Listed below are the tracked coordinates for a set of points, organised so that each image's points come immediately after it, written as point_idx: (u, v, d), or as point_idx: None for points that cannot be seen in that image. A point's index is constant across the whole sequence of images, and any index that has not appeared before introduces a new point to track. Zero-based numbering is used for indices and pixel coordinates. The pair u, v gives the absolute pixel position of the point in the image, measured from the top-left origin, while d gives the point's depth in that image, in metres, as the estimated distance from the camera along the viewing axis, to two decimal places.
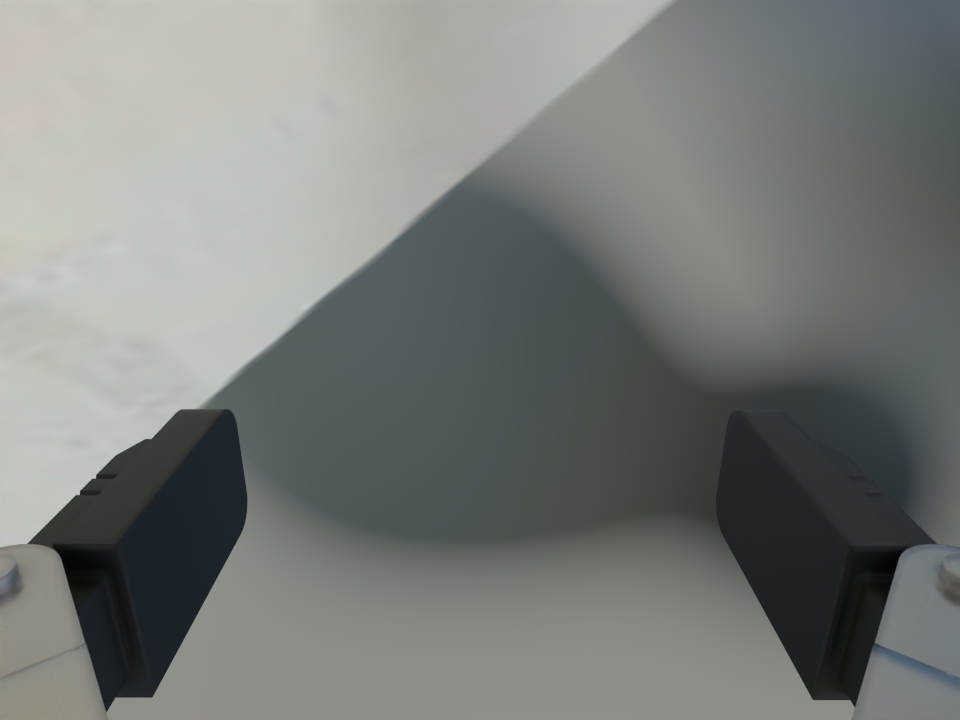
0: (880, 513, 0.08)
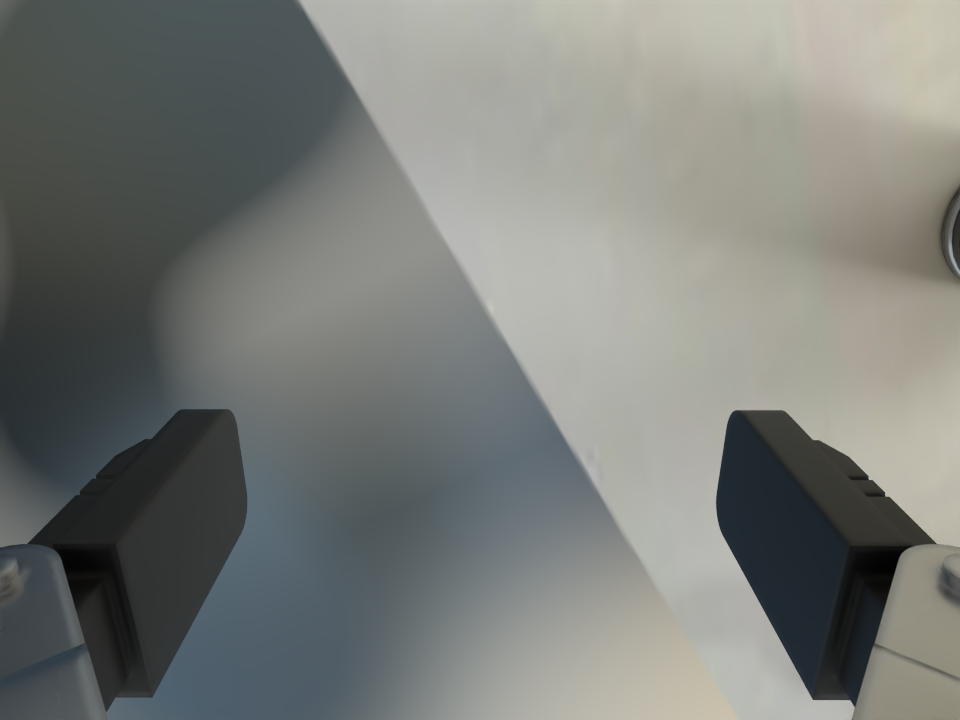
0: (880, 513, 0.08)
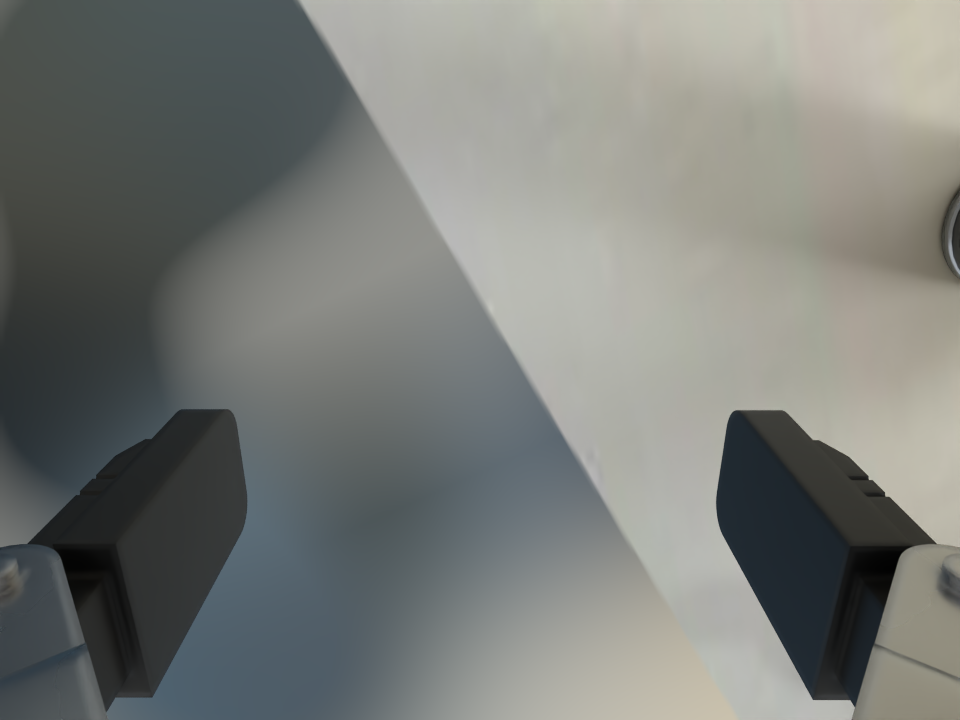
0: (880, 513, 0.08)
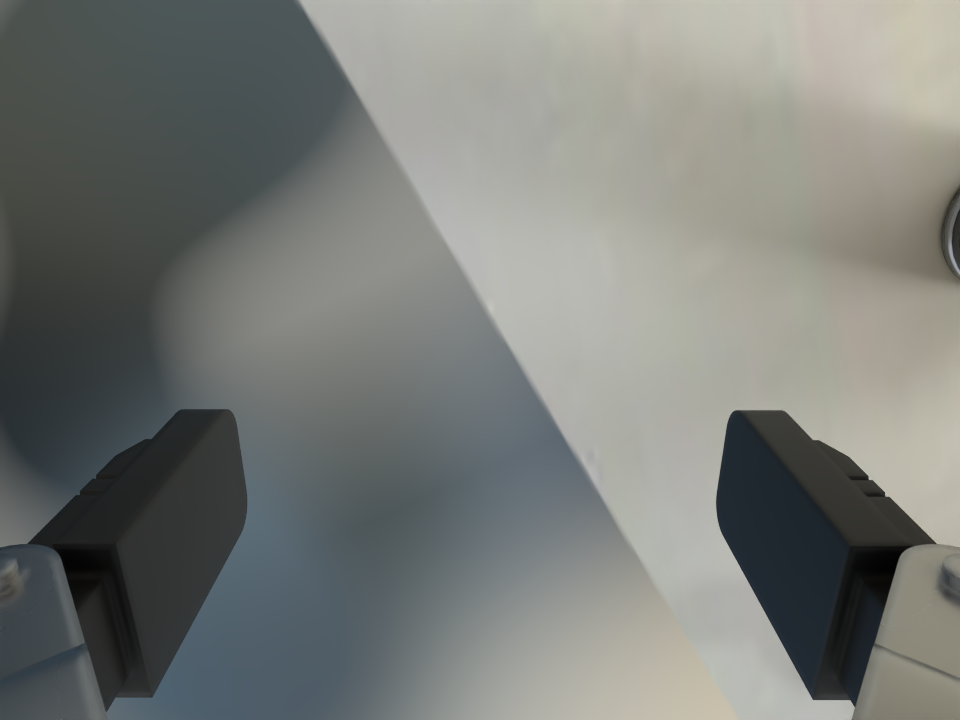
0: (880, 513, 0.08)
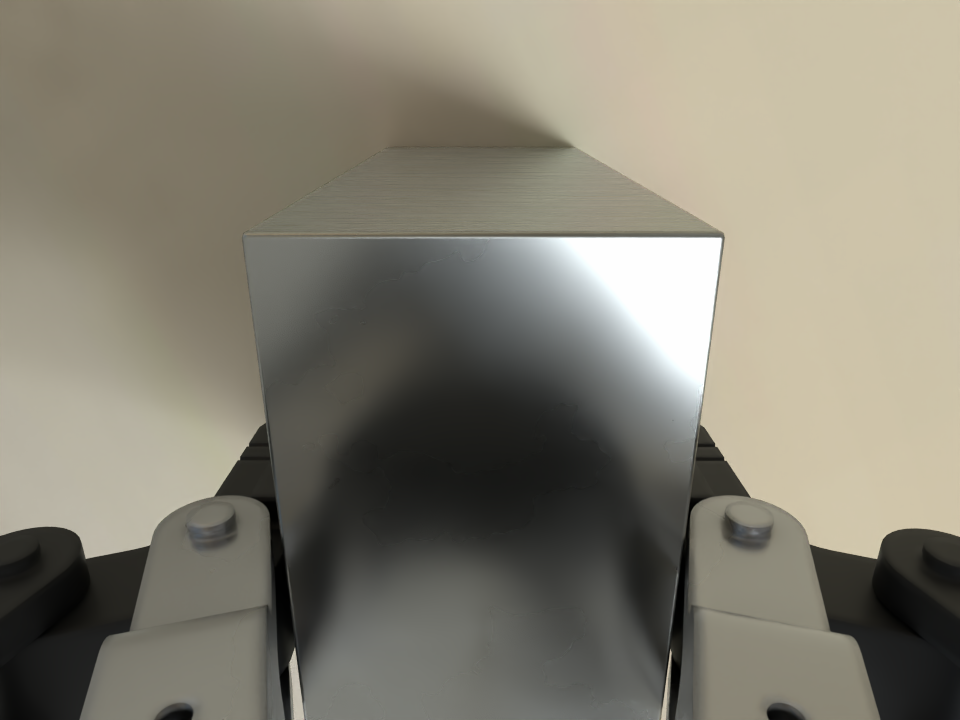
0: (699, 471, 0.09)
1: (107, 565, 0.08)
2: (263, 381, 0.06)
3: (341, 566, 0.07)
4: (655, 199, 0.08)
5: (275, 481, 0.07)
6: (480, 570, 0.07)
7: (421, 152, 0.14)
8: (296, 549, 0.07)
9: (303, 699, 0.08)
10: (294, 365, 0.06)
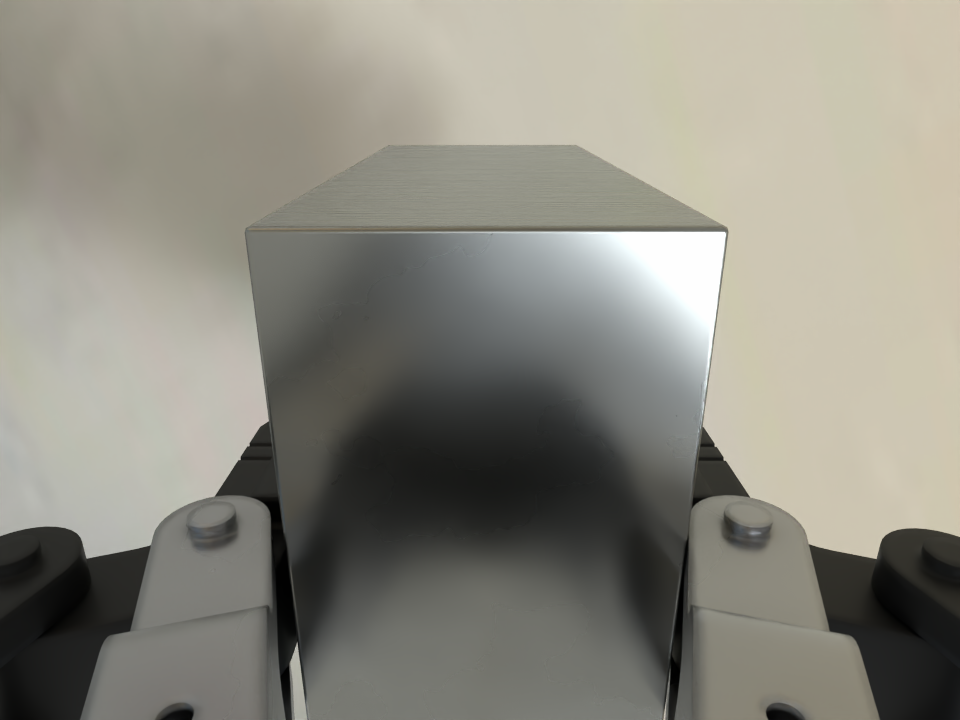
0: (698, 471, 0.09)
1: (108, 564, 0.08)
2: (266, 376, 0.06)
3: (345, 562, 0.07)
4: (658, 195, 0.08)
5: (278, 477, 0.07)
6: (481, 566, 0.07)
7: (422, 150, 0.14)
8: (299, 545, 0.07)
9: (305, 696, 0.08)
10: (297, 360, 0.06)
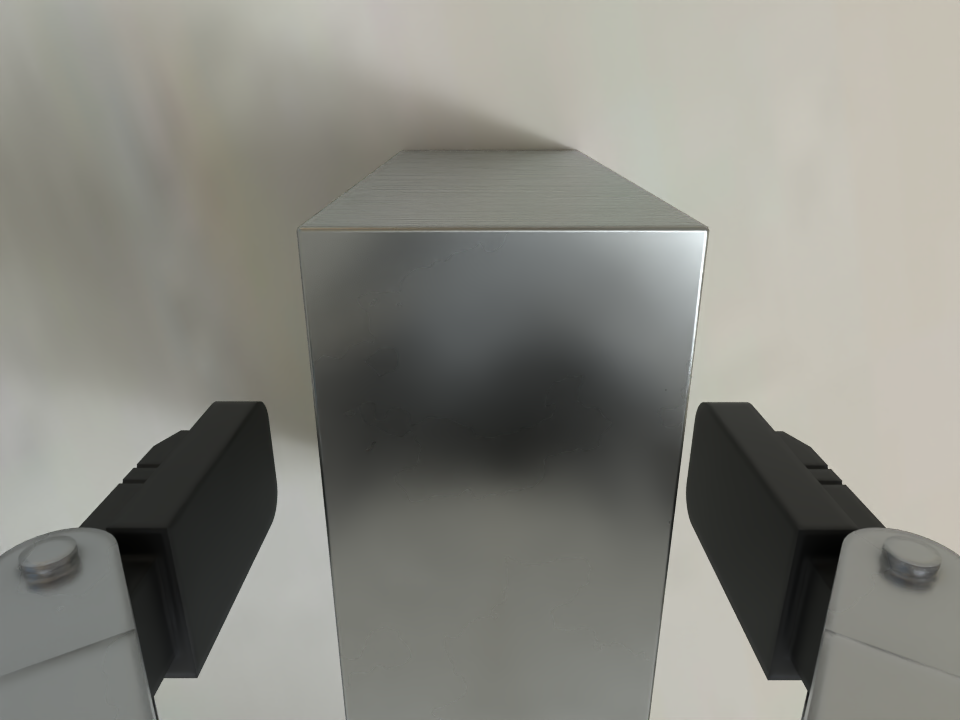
0: (831, 499, 0.08)
1: None
2: (312, 355, 0.07)
3: (377, 519, 0.08)
4: (651, 198, 0.09)
5: (320, 444, 0.08)
6: (496, 524, 0.08)
7: (435, 155, 0.15)
8: (337, 505, 0.08)
9: (339, 641, 0.09)
10: (339, 341, 0.07)
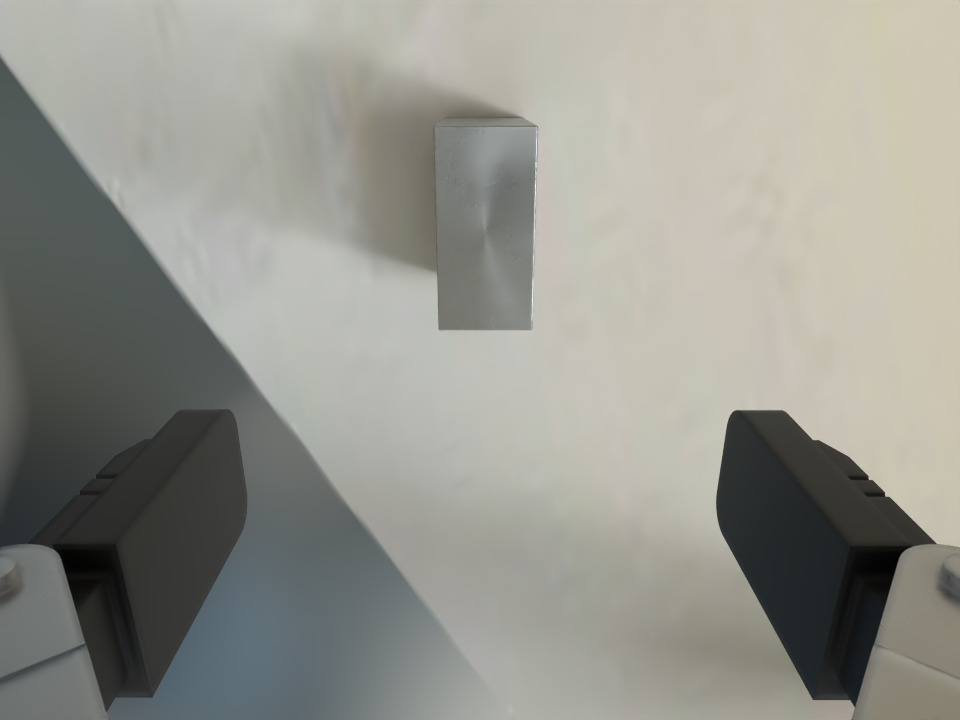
0: (880, 513, 0.08)
1: None
2: (435, 161, 0.28)
3: (450, 214, 0.29)
4: (530, 123, 0.29)
5: (436, 188, 0.28)
6: (484, 215, 0.29)
7: (461, 118, 0.35)
8: (439, 209, 0.29)
9: (437, 257, 0.30)
10: (443, 157, 0.28)
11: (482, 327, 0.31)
